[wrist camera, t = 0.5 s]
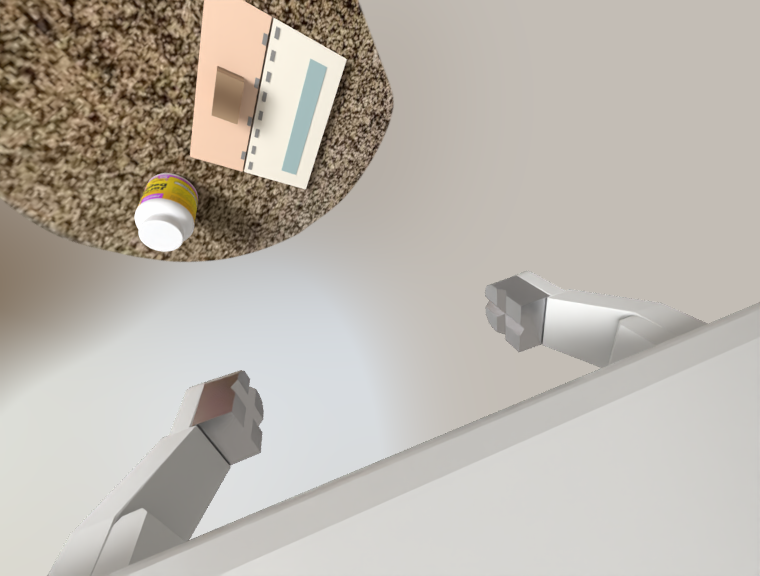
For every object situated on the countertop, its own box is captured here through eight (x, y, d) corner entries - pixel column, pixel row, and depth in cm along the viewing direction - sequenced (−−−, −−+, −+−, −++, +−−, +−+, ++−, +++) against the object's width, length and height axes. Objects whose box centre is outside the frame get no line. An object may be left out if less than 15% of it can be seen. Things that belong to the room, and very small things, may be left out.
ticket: (272, 17, 38) (273, 17, 37) (343, 57, 43) (346, 59, 42) (243, 168, 48) (244, 172, 47) (304, 185, 53) (305, 189, 52)
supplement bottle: (170, 162, 44) (157, 202, 36) (208, 196, 49) (204, 239, 40) (135, 187, 45) (114, 233, 36) (175, 219, 50) (165, 265, 41)
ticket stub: (206, -20, 34) (204, -23, 30) (270, 16, 38) (275, 18, 34) (190, 153, 44) (187, 167, 40) (242, 167, 48) (243, 182, 44)
